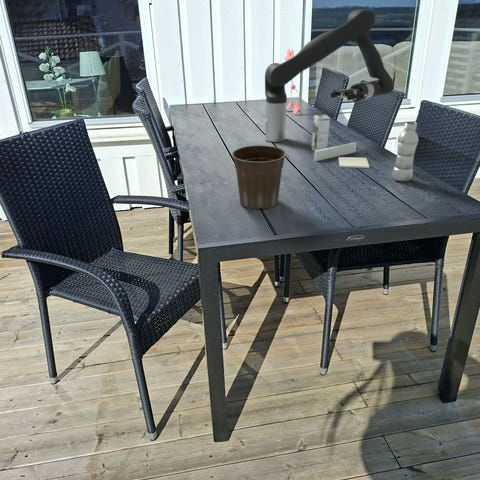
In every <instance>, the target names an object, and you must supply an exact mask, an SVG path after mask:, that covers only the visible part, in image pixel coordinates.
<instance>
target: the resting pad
mask: <svg viewBox="0 0 480 480" xmlns="http://www.w3.org/2000/svg"><path fill="white" fill-rule="evenodd" d="M337 158H338V164H339V167H340V168H354V169H355V168H356V169H357V168H358V169H359V168H360V169H362V168H363V169H370V164H369V162H368V159H367V157H352V156H351V157H349V156H348V157H346V156H337Z"/></svg>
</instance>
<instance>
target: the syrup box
mask: <svg viewBox="0 0 480 480" xmlns="http://www.w3.org/2000/svg"><path fill="white" fill-rule="evenodd" d="M330 119H331V117H329V116H328V115H327V114H314V115H313V123H312V124H313V125H312V134H311V135H312V136H311V147H310V149H312V151H313V153H315V151H316V150H321V149H325V148H328V140H329V131H330V121H331V120H330Z"/></svg>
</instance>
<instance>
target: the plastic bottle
mask: <svg viewBox="0 0 480 480" xmlns="http://www.w3.org/2000/svg"><path fill="white" fill-rule="evenodd" d="M417 126H418V123H417V122H414V121H407V122H405V123H404V126H403V131H402V132H401V133H400V134H399V135H398V137H397V153H396V160H395V164H394V167H393V169H392V177H393V180H395V181H397V182H410V180H411V179H412V178H413V176H414V173H413V172H414V170H413V169H414V168H413V167H414V159H415V158H414V157H415V154H416V150H417V146H418V143H419V136H418V133H417V132H416V130H417V129H418V128H417Z"/></svg>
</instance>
